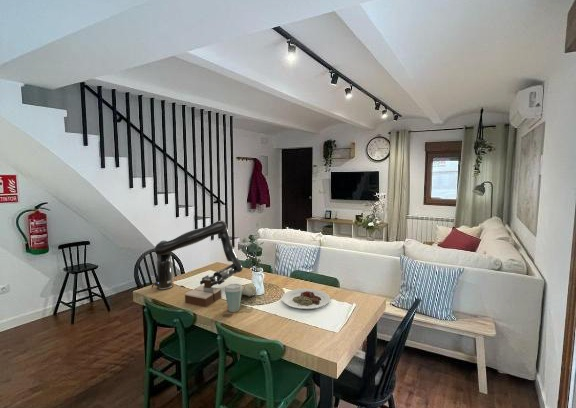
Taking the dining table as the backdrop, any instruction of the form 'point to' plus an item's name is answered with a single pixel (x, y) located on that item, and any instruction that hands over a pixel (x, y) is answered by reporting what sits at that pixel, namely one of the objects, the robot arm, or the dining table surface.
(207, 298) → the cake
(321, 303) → the plated food
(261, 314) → the dining table surface
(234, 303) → the disposable coffee cup
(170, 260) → the robot arm
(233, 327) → the dining table surface
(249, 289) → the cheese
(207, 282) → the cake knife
